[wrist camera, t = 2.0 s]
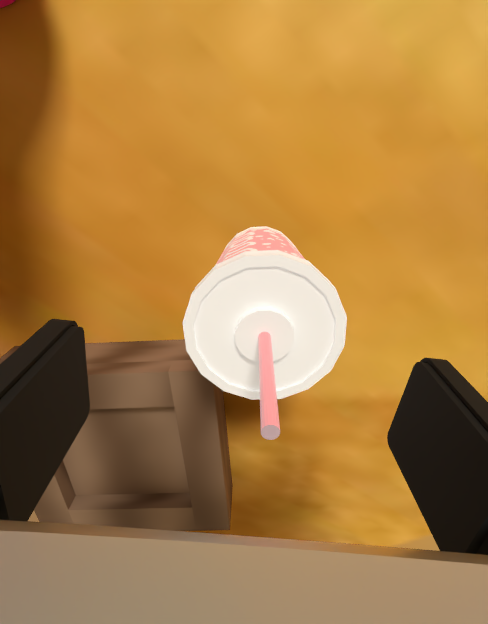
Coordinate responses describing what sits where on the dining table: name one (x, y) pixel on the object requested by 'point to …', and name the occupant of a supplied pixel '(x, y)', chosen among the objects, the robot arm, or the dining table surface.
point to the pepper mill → (5, 2)
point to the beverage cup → (264, 322)
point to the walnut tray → (145, 445)
